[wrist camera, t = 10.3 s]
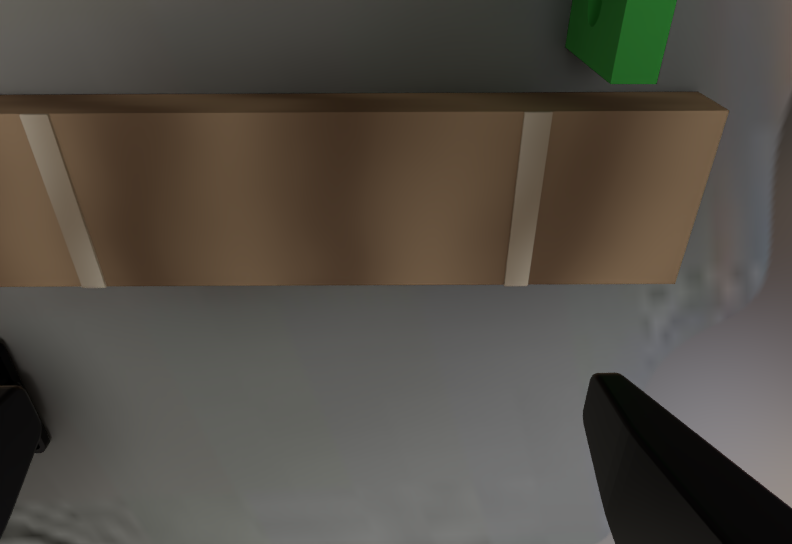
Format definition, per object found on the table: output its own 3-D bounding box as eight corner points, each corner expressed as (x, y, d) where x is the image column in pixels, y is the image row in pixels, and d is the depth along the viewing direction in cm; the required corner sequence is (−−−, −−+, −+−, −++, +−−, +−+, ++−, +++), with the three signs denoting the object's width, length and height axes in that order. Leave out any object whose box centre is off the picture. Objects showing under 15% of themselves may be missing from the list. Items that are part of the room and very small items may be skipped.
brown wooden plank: (12, 257, 21) (-23, 288, 20) (-58, 95, 18) (-107, 115, 16) (652, 254, 21) (675, 285, 20) (697, 91, 18) (731, 111, 16)
